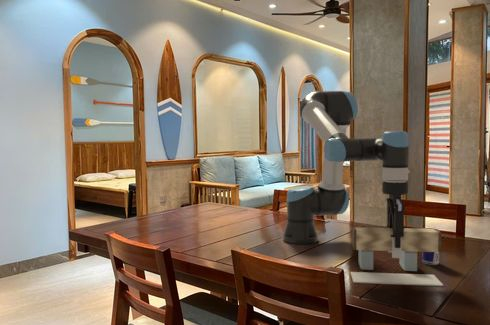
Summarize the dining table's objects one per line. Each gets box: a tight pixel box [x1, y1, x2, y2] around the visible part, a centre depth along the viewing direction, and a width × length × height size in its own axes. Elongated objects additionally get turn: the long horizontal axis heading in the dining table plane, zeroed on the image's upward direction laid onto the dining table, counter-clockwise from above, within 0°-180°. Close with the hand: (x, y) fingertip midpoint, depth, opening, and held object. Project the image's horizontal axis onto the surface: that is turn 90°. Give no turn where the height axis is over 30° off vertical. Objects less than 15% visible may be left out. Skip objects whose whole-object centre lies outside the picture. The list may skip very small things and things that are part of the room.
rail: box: [351, 227, 442, 253], centre depth 126 cm, size 26×5×6 cm, turn 81°
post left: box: [357, 250, 375, 271], centre depth 140 cm, size 4×7×8 cm, turn 171°
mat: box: [350, 271, 444, 287], centre depth 127 cm, size 26×9×1 cm, turn 81°
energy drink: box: [421, 227, 440, 266], centre depth 143 cm, size 5×5×12 cm
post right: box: [398, 251, 418, 272], centre depth 138 cm, size 4×7×8 cm, turn 171°
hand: (394, 254), depth 126 cm, fingers closed on rail, 5 cm apart
